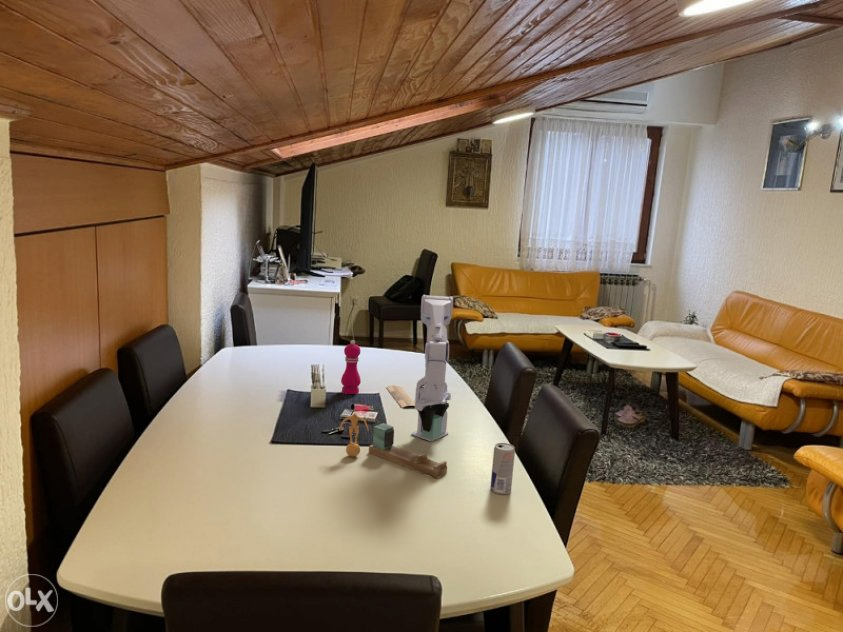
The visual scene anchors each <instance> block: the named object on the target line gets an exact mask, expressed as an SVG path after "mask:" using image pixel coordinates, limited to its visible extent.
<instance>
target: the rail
mask: <svg viewBox="0 0 843 632" xmlns="http://www.w3.org/2000/svg"><path fill="white" fill-rule="evenodd" d="M372 437H373V439H372V444H370V445H369V446H368V453H369V454H372V455H374V456H377V457H379V458H382V459H385V460H386V461H390V462H392V463H394V464H397V465H401V466H403V467H405V468H408V469H409V470H413V471H415V472H418V473H421V474H424V475H426V476H428V477H431V478H432V479H433V478H434V479H438V478H440V477H441V476H444V475H446V474H447V473H448V465H447V463H448V461H446V460H442V461H441V462H437V461H435V460H433V459H430V458H428V454H426V453H423V454H421V455H419V454H416V453H413V452H410V451H409V450H408V451H407V450H405V449H402V448H400V447H398V446H394V441H395V440H394V439H395V429H394V426H392V425H389V424H387V423H380V424H377V425H375V426H373V435H372Z"/></svg>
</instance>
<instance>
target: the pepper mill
mask: <svg viewBox="0 0 843 632" xmlns="http://www.w3.org/2000/svg"><path fill="white" fill-rule="evenodd" d="M343 349H344V350H343V353H344V355H345V357H344V358H345V359H344V361H345V363H346V365H345V370H344V372H343V373H342V376H341V379H340V380H341V381H340V382H341V384H342V387H341V393H342V392H343V393H342V394H344V393H346V394H345V395H347V394H355V395H358V394H359V393H360V388H359V386H360V384H361V381H362V380H361V376H360V374H359V371H358V362H359V361H360V360H359V359H360V358H359V356H360V355H361V348H360V346H359V345H358V344H356V340H354V339H351V340H350V344H347V345H346V346H345V347H344V348H343ZM357 393H358V394H357Z"/></svg>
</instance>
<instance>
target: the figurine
mask: <svg viewBox="0 0 843 632" xmlns="http://www.w3.org/2000/svg"><path fill="white" fill-rule="evenodd" d="M348 420H350V422H351V425H349V427H348V428H349V430H348V431H349V438H350V439H349V443H348V444H347V446H346V447H345V451H346V454H347V456H348V457H350V458H351V457H352V458H354V457H357V456H359V455H360V452H361V447H360V445H359V443H358V437H359V432H360V431H359V429H360V426H359V425H357V424H358V423H359V421H362V422H364V425H365V427H366V430H367V432H369V426H368V424H367V421H366V419H364V418H362V417H361V416H358V414H356V413H353V414H352V415H350V416H348V417H346V418H344V419H343V420H342V422H341V423H340V426H339V429H338V430H339V431H340V432H341V429H342V427H343V426H344V423H345V421H348ZM353 432H354V433H355V436H354V437H355V438H354V439H355V440H354V442H353V434H352V433H353Z"/></svg>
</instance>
